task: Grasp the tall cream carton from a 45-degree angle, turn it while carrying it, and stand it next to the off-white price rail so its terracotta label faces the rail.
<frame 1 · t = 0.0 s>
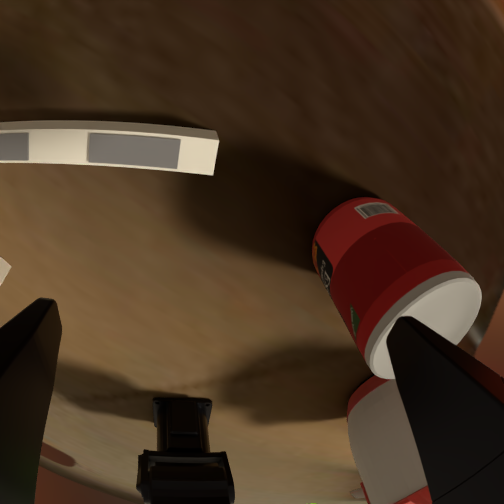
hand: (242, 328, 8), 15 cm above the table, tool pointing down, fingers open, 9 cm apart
citrus juicer: (379, 390, 39), on the table
canned food: (354, 237, 25), on the table
price rail: (75, 135, 17), on the table
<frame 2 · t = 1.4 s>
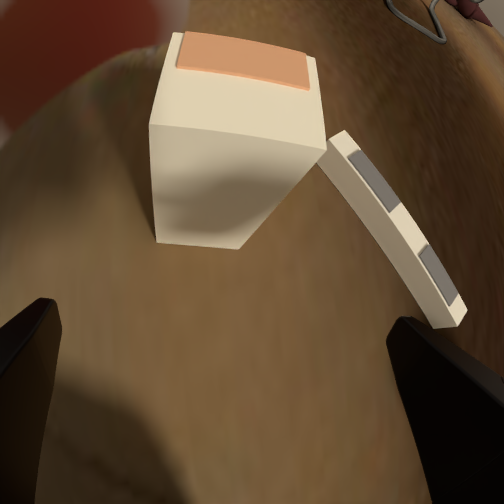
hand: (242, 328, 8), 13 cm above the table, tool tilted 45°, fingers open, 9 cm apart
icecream: (463, 16, 53), on the table
chair: (411, 10, 41), on the table
price rail: (386, 239, 25), on the table
carton: (200, 213, 22), on the table
when the fingers open (7 cm above the table, at t = 6.8 s): carton stays where it is, on the table.
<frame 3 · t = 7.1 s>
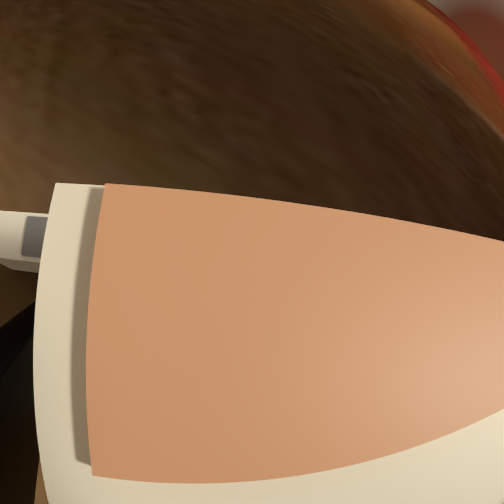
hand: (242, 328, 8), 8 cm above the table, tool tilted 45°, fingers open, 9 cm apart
price rail: (187, 266, 15), on the table
carton: (205, 359, 14), on the table
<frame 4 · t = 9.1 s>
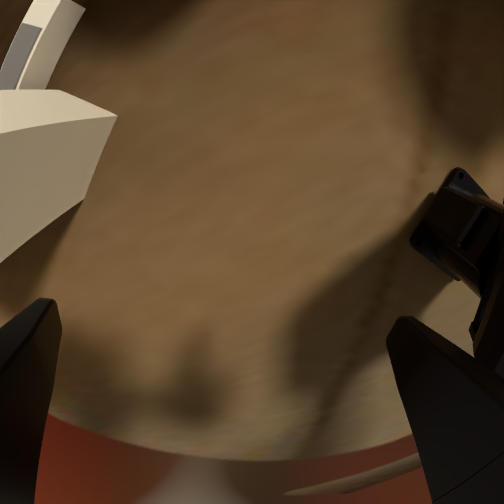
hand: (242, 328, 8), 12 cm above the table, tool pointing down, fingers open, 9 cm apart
price rail: (16, 135, 16), on the table
carton: (70, 144, 16), on the table
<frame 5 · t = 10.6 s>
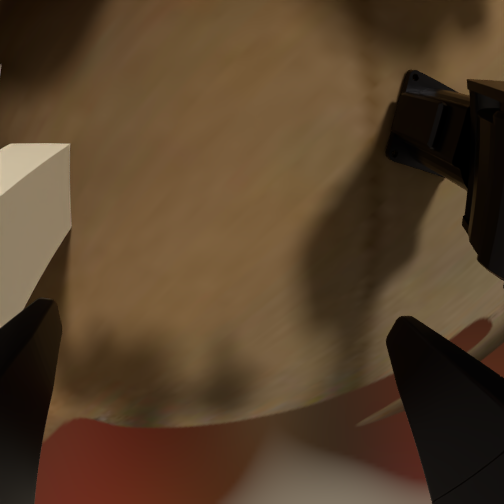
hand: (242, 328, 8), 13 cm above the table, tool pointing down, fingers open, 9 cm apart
carton: (39, 185, 17), on the table
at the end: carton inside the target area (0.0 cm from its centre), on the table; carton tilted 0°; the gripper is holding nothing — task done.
